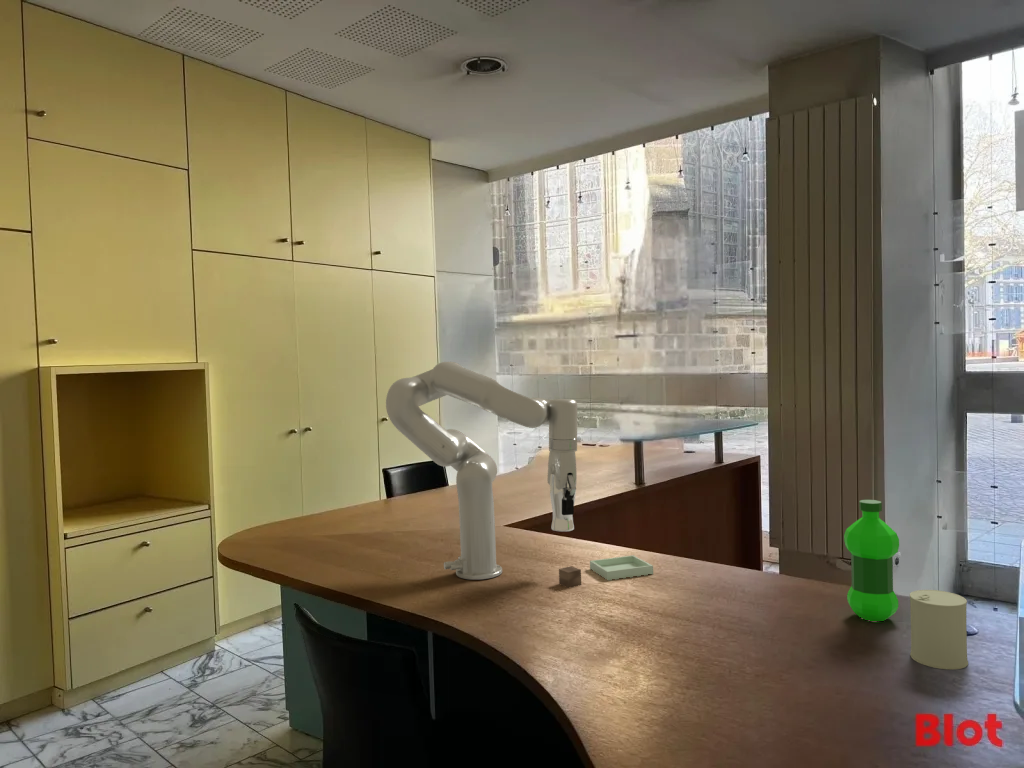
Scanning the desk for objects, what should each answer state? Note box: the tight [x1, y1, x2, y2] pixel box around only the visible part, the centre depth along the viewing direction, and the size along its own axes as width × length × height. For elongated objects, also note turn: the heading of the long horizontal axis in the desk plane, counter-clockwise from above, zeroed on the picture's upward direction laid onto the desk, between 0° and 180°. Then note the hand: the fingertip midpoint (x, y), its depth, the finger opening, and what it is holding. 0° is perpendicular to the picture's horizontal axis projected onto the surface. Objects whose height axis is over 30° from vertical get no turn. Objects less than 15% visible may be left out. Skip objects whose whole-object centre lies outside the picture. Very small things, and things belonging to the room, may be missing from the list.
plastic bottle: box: [843, 499, 900, 622], centre depth 156 cm, size 10×10×25 cm
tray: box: [589, 554, 654, 581], centre depth 196 cm, size 13×11×2 cm
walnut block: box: [558, 565, 582, 589], centre depth 187 cm, size 4×4×4 cm
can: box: [909, 589, 969, 671], centre depth 135 cm, size 9×9×12 cm
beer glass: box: [549, 473, 577, 532], centre depth 196 cm, size 7×7×15 cm
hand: (562, 511), depth 196 cm, fingers closed on beer glass, 6 cm apart
